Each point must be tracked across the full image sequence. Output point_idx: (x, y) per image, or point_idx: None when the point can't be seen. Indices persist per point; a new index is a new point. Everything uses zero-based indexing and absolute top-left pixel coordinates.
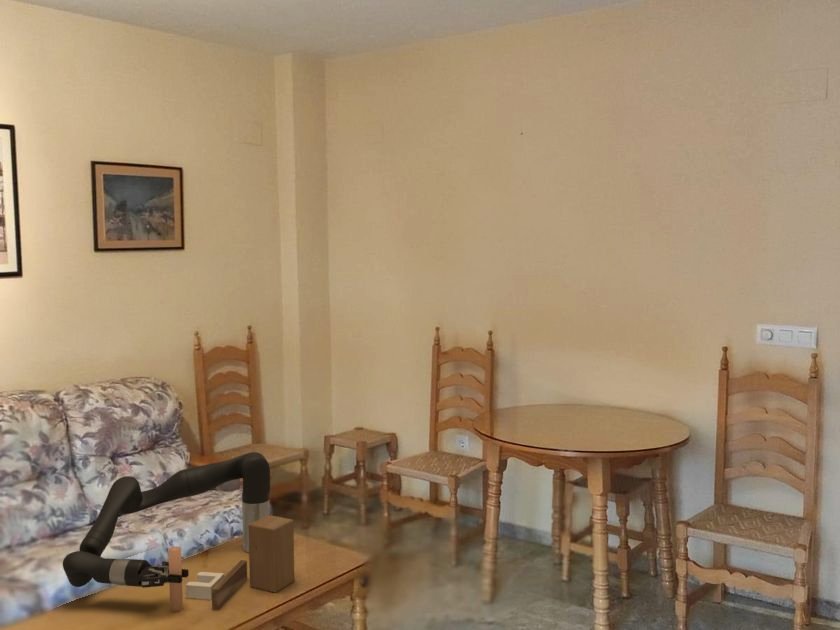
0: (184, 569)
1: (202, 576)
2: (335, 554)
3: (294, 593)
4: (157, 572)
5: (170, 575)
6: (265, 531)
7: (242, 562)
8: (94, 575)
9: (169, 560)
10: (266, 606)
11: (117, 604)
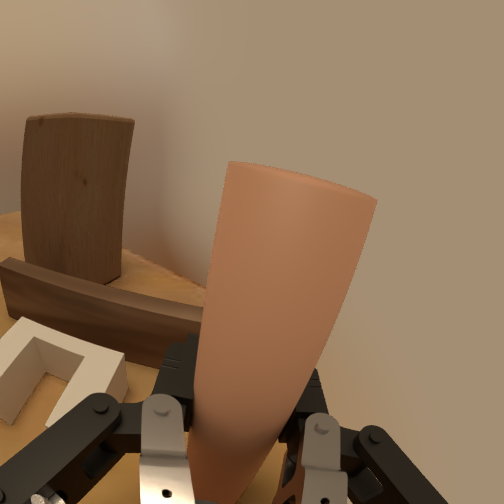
0: (191, 346)
1: (4, 376)
2: (10, 220)
3: (131, 258)
4: (345, 494)
5: (311, 404)
6: (116, 127)
7: (15, 263)
8: None
9: (335, 319)
10: (186, 288)
11: None
